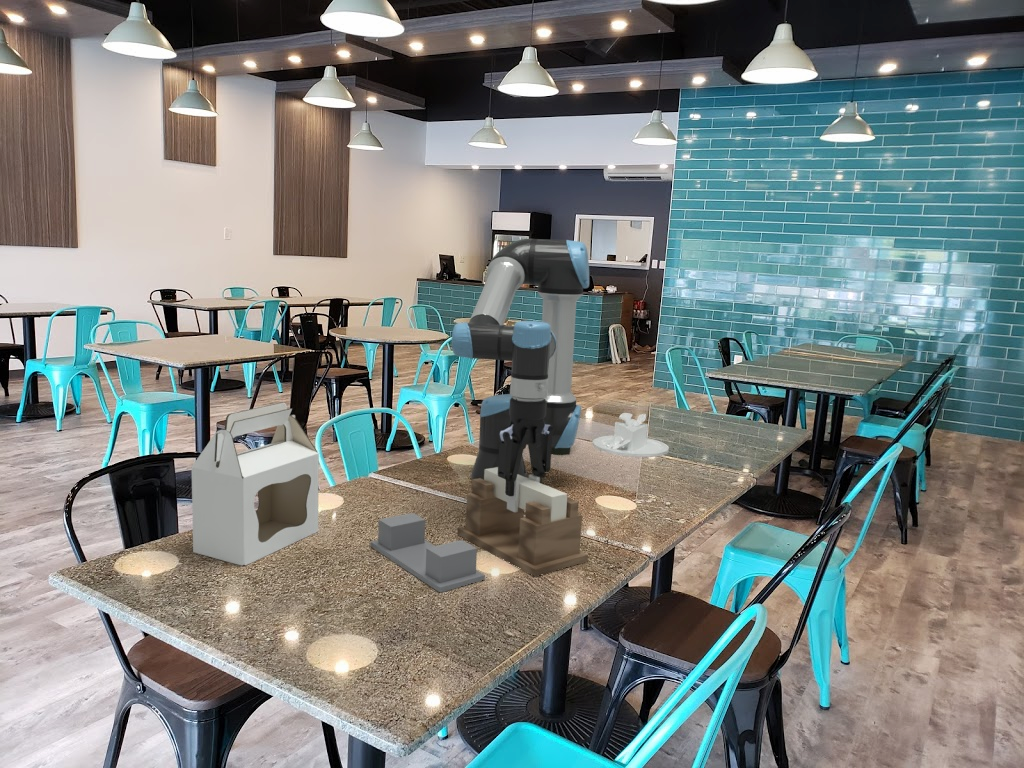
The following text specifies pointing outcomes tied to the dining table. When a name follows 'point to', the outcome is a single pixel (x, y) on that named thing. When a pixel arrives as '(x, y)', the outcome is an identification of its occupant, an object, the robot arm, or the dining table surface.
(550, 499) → the white rectangular bar
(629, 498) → the dining table surface
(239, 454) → the gable box
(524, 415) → the robot arm
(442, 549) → the stand
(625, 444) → the dish
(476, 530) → the notched wooden cradle
